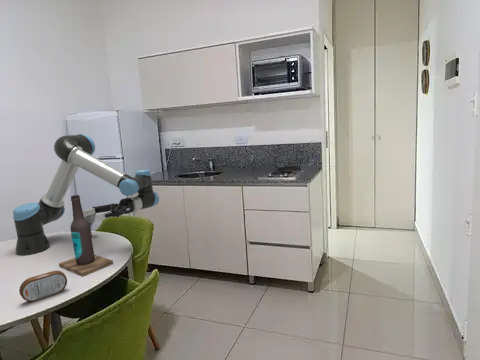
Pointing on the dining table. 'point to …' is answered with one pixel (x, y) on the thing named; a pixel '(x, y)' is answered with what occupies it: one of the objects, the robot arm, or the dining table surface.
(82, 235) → the beer bottle
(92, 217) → the wine glass
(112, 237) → the dining table surface
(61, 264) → the serving board
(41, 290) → the tin
